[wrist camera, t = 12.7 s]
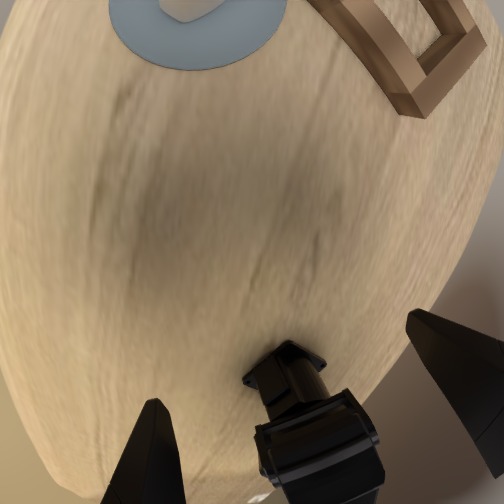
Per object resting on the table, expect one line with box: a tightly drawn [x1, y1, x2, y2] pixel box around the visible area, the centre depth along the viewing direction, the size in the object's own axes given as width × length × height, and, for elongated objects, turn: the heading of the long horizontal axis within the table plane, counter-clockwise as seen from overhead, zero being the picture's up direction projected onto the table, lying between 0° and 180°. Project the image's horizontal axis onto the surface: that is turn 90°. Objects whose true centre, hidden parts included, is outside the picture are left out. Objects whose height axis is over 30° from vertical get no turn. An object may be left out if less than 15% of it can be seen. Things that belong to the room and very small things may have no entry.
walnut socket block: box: [307, 0, 487, 119], centre depth 14 cm, size 12×12×3 cm
